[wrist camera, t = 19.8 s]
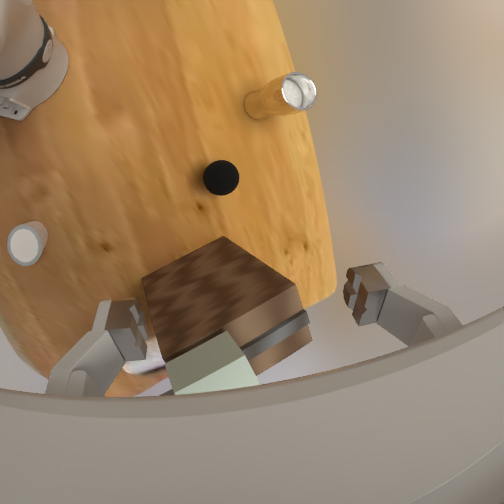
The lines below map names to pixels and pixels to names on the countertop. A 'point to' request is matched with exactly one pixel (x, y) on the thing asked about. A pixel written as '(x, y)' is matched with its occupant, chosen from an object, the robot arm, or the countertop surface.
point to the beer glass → (282, 97)
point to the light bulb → (221, 177)
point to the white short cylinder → (27, 242)
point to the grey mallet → (210, 368)
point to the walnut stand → (226, 305)
